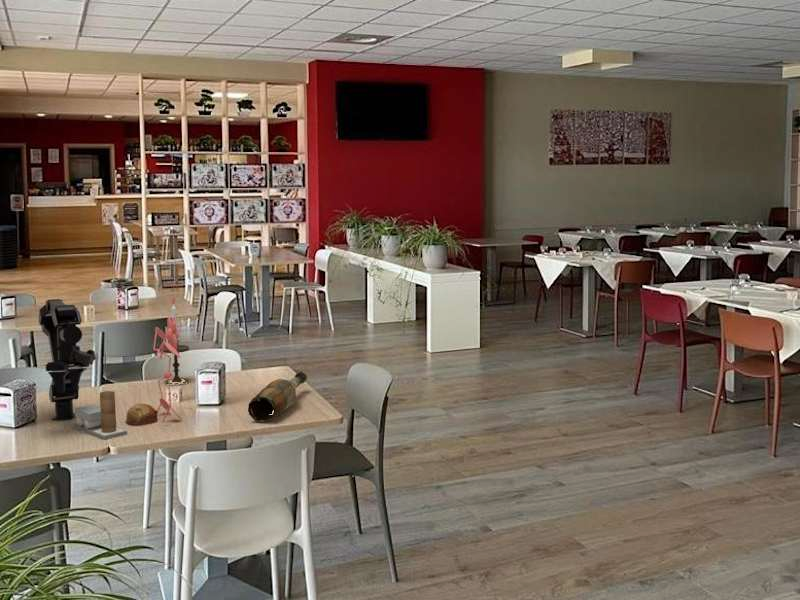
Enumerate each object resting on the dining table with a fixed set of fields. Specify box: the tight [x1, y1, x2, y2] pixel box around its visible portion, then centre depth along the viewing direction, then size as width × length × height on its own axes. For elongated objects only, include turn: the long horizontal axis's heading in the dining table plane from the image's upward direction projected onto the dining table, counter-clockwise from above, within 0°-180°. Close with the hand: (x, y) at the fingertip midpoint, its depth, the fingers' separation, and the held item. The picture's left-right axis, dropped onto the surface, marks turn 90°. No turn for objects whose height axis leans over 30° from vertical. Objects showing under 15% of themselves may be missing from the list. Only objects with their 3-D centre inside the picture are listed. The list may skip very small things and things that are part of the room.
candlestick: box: [160, 296, 190, 385], centre depth 343 cm, size 11×11×35 cm
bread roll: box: [125, 403, 159, 427], centre depth 291 cm, size 10×10×8 cm
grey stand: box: [72, 403, 128, 441], centre depth 280 cm, size 20×8×6 cm, turn 47°
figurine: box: [152, 315, 198, 427], centre depth 295 cm, size 15×26×35 cm, turn 30°
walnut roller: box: [99, 390, 117, 433], centre depth 276 cm, size 4×4×12 cm
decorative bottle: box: [247, 371, 308, 424], centre depth 308 cm, size 11×11×45 cm
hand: (68, 391), depth 281 cm, fingers open, 9 cm apart
